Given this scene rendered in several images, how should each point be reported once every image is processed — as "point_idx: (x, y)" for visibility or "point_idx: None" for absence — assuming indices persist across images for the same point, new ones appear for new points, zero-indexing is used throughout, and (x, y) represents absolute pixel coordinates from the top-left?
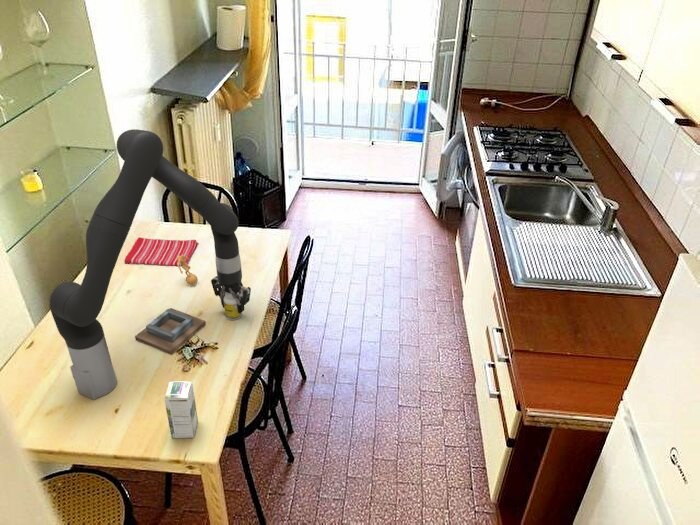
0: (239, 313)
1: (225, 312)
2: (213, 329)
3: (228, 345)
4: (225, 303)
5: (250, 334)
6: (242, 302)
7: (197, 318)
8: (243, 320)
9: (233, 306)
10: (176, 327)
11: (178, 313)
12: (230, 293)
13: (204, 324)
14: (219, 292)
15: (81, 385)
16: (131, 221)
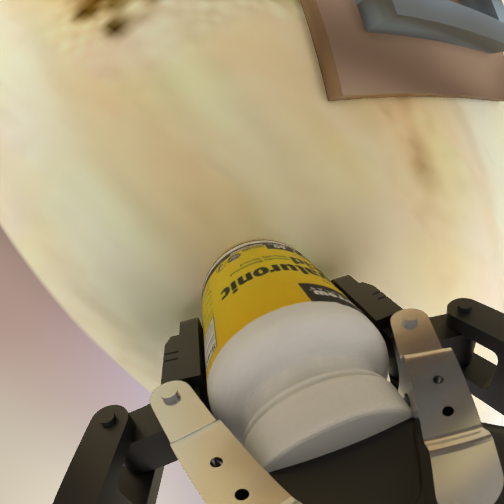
0: (184, 321)
1: (292, 255)
2: (246, 95)
3: (43, 76)
4: (311, 300)
5: (28, 244)
6: (115, 429)
7: (397, 88)
8: (167, 304)
9: (219, 334)
10: None
11: (476, 27)
12: (318, 455)
13: (329, 86)
14: (453, 344)
15: None
16: None
